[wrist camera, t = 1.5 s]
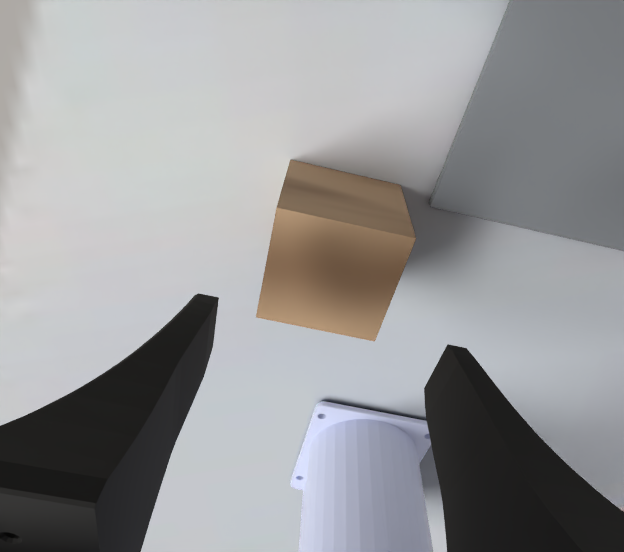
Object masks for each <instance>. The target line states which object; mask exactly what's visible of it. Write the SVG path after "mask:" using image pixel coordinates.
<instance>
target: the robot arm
mask: <svg viewBox="0 0 624 552" xmlns="http://www.w3.org/2000/svg"><path fill="white" fill-rule="evenodd" d="M218 299H219V298H218V297H213V296H208V295H203V294H197V295H195V296H194V297H193V298H192V299H191V300H190V301H189V303H188V304H187V305H186V306H185V307H184V308H183V309H182V310H181V311H180V312H179V313H178V314H177V315H176V316H175V317H174V318H173V319H172V320H171V321H170V322H169V323H167V324H166V325H165V326H164V327H163V328H162V329H161V330H160V331H159V332H158V333H156V334H155V335H154V336H153V337H152V338H151V339H149V340H148V341H147V342H146V343H144V344H143V345H142V346H141V347H139V348H138V349H137V350H136V351H135V352H133V353H132V354H131V355H129V356H128V357H127V358H125V359H124V360H122V361H121V362H120V363H118V364H117V365H115V366H114V367H112V368H111V369H109V370H108V371H106V372H105V373H103V374H102V375H100V376H99V377H97V378H95V379H94V380H92V381H90V382H89V383H87V384H85V385H84V386H82V387H80V388H79V389H77V390H75V391H73V392H72V393H70V394H68V395H66V396H64V397H62V398H60V399H58V400H56V401H54V402H52V403H50V404H48V405H46V406H44V407H42V408H40V409H38V410H36V411H34V412H32V413H30V414H28V415H26V416H23V417H21V418H18V419H16V420H14V421H11V422H9V423H6V424H4V425H1V426H0V552H140V551H141V548H142V545H143V542H144V538H145V535H146V532H147V528H148V525H149V522H150V518H151V515H152V512H153V509H154V506H155V503H156V499H157V496H158V493H159V490H160V487H161V483H162V480H163V477H164V474H165V471H166V468H167V465H168V462H169V459H170V456H171V453H172V450H173V448H174V445H175V442H176V440H177V437H178V435H179V433H180V430H181V428H182V426H183V424H184V421H185V419H186V417H187V414H188V412H189V410H190V407H191V405H192V403H193V400H194V398H195V396H196V393H197V391H198V389H199V386H200V384H201V382H202V379H203V377H204V374H205V371H206V367H207V364H208V361H209V358H210V354H211V351H212V347H213V340H214V332H215V324H216V315H217V307H218ZM424 391H425V409H426V420H427V421H425V420H419V419H414V418H409V417H404V416H398V415H393V414H388V413H383V412H378V411H372V410H367V409H362V408H357V407H351V406H346V405H341V404H336V403H330V402H325V401H322V402H319V403H317V404H316V406H315V409H314V412H313V415H312V418H311V421H310V424H309V427H308V430H307V433H306V436H305V439H304V442H303V445H302V448H301V451H300V454H299V457H298V460H297V463H296V466H295V469H294V472H293V475H292V477H291V482H290V486H291V487H292V488H294V489H299V490H303V501H302V514H301V528H300V541H299V552H433V547H432V541H431V534H430V528H429V522H428V516H427V510H426V503H425V497H424V491H423V485H422V479H421V472H420V466H419V464H420V462H421V460H422V459H423V457H424V456H425V454H426V452H427V451H428V449H429V447H430V446H431V445H432V450H433V455H434V460H435V464H436V469H437V474H438V479H439V484H440V489H441V495H442V501H443V510H444V520H445V530H446V541H447V552H624V512H623V511H621V510H620V509H619V508H618V507H616V506H615V505H614V504H612V503H611V502H610V501H609V500H608V499H606V498H605V497H604V496H603V495H601V494H600V493H599V492H598V491H597V490H595V489H594V488H593V487H592V486H591V485H590V484H589V483H587V482H586V481H585V480H584V479H583V478H582V477H581V476H579V475H578V474H577V473H576V472H575V471H574V470H573V469H572V468H571V467H569V466H568V465H567V464H566V463H565V462H564V461H563V460H562V459H561V458H560V457H559V456H558V455H557V454H556V453H555V452H554V451H553V450H552V449H551V448H550V447H549V446H548V445H547V444H546V443H545V442H544V441H543V440H542V439H541V438H540V437H539V436H538V435H537V434H536V433H535V431H534V430H533V429H532V428H531V427H530V426H529V425H528V424H527V422H526V421H525V420H524V419H523V418H522V417H521V416H520V414H519V413H518V412H517V411H516V410H515V409H514V407H513V406H512V405H511V404H510V403H509V401H508V400H507V399H506V398H505V396H504V395H503V394H502V393H501V391H500V390H499V389H498V388H497V386H496V385H495V384H494V382H493V381H492V380H491V379H490V377H489V376H488V375H487V373H486V372H485V371H484V370H483V368H482V367H481V366H480V364H479V363H478V362H477V361H476V359H475V358H474V357H473V356H472V354H471V353H470V352H469V351H468V350H467V348H462V347H457V346H453V345H447V347H446V349H445V351H444V352H443V354H442V356H441V358H440V360H439V362H438V364H437V366H436V367H435V369H434V371H433V373H432V375H431V377H430V379H429V380H428V382H427V384H426V386H425V388H424Z"/></svg>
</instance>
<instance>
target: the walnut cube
mask: <svg viewBox="0 0 624 552" xmlns="http://www.w3.org/2000/svg"><path fill="white" fill-rule="evenodd" d="M415 240H416V236H415V233H414V229H413V226H412V223H411V219H410V216H409V212H408V209H407V206H406V202H405V199H404V195H403V192H402V188H401V185H398V184H394V183H389V182H385V181H381V180H376V179H372V178H368V177H363V176H359V175H355V174H351V173H346V172H342V171H338V170H333V169H329V168H325V167H320V166H316V165H312V164H307V163H303V162H299V161H294V160H290V163H289V166H288V170H287V173H286V177H285V180H284V184H283V187H282V191H281V194H280V198H279V201H278V205H277V209H276V214H275V219H274V225H273V230H272V235H271V240H270V246H269V251H268V256H267V262H266V267H265V272H264V278H263V283H262V288H261V293H260V299H259V304H258V309H257V315H256V317H257V318H262V319H267V320H272V321H277V322H282V323H287V324H292V325H297V326H302V327H306V328H311V329H316V330H321V331H326V332H331V333H336V334H341V335H346V336H351V337H356V338H361V339H365V340H370V341H375V340H376V337H377V335H378V332H379V330H380V327H381V325H382V322H383V320H384V317H385V315H386V312H387V310H388V307H389V305H390V302H391V300H392V297H393V295H394V292H395V290H396V287H397V285H398V282H399V280H400V277H401V275H402V272H403V270H404V267H405V265H406V262H407V260H408V258H409V255H410V253H411V250H412V248H413V245H414V243H415Z"/></svg>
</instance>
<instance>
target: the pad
mask: <svg viewBox="0 0 624 552" xmlns="http://www.w3.org/2000/svg"><path fill="white" fill-rule="evenodd" d="M429 205H430V207H434V208H438V209H442V210H447V211H451V212H455V213H460V214H464V215H469V216H473V217H477V218H482V219H486V220H490V221H495V222H499V223H504V224H508V225H512V226H517V227H521V228H525V229H530V230H534V231H538V232H543V233H547V234H552V235H556V236H560V237H565V238H569V239H573V240H578V241H582V242H587V243H591V244H595V245H600V246H604V247H608V248H613V249H617V250H622V251H624V0H510V2H509V4H508V7H507V9H506V12H505V14H504V17H503V19H502V22H501V24H500V27H499V29H498V32H497V34H496V37H495V39H494V42H493V44H492V47H491V49H490V52H489V54H488V57H487V59H486V62H485V64H484V67H483V69H482V72H481V74H480V77H479V79H478V82H477V84H476V87H475V89H474V92H473V94H472V97H471V99H470V102H469V104H468V107H467V109H466V112H465V114H464V117H463V119H462V122H461V124H460V127H459V129H458V132H457V134H456V137H455V139H454V142H453V144H452V147H451V149H450V152H449V154H448V157H447V159H446V162H445V164H444V167H443V169H442V172H441V174H440V177H439V179H438V181H437V184H436V186H435V189H434V191H433V194H432V196H431V199H430V201H429Z"/></svg>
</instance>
